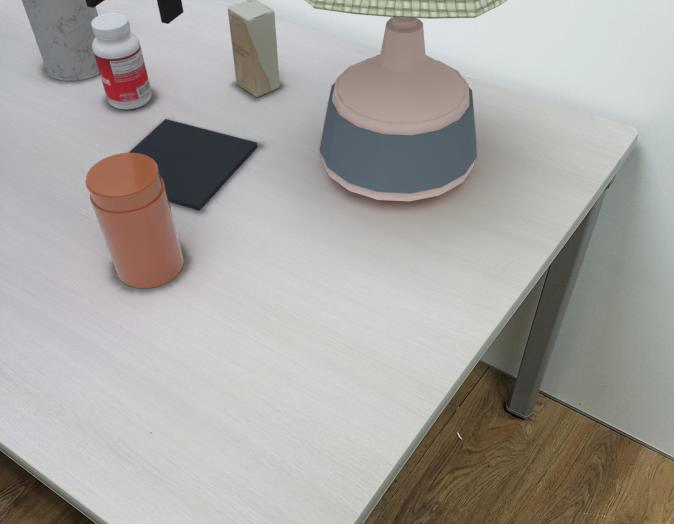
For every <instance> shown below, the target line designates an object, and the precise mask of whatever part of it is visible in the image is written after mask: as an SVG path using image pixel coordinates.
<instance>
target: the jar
mask: <svg viewBox="0 0 674 524" xmlns="http://www.w3.org/2000/svg"><path fill="white" fill-rule="evenodd" d="M84 182H85V186H86V187H85V188H86V189H87V190H88V192H89V193H90V194H89V200H90V203H91V205H92V209H93V211H94V214H95V217H96V220H97V222H98V225H99V227H100V231H101V233H102V237H103V239H104V241H105V244H106V247H107V250H108V253H109V255H110V258H111V261H112V264H113V267H114V269H115V272H116V275H117V277H118V279H119V280H120V281H121V282H122V283H123V284H125V285H127V286H128V287H131V288H135V289H152V288H157V287H160V286H163V285H165V284H167V283H169V282H171V281H172V280H174V279H175V278H176V277H177V276H178V275H179V274H180V272H181V271H182V269H183V267H184V261H185V260H184V254H183V251H182V247H181V243H180V238H179V235H178V231H177V227H176V224H175V220H174V215H173V212H172V208H171V204H170V201H169V200H168V196H167V192H166V188H165V184H164V181H163V179H162V178H161V177H160V173H159V169H158V166H157V163H156V162H155V161H154V160H153V159H152V158H150V157H148V156H146V155H143V154H139V153H129V152H122V153H117V154H112V155H110V156H107V157H105V158H102V159H100V160H99V161H97V162H96V163H94V164H93V165H92V166H91V167H90V168H89V170H88V172H87V173H86V177H85V181H84Z"/></svg>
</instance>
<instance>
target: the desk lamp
mask: <svg viewBox="0 0 674 524" xmlns="http://www.w3.org/2000/svg"><path fill="white" fill-rule="evenodd" d="M304 1H305V2H306V4H308V5H309V6H310V7H312V8H313V9H315V10H321V11H322V10H323V11H330V12H336V13H344V14H345V13H346V14H352V15H360V16H374V17H384V18H385V17H387V18H389V19H388V20H387V21H386V22H385V28H384V33H383V38H382V43H381V47H380V48H381V50H380V54H377V55H375V56H372V57H369V58H366V59H364V60H361V61H359V62H357V63H355V64H353V65H349V66H347V68H346V69H345V70H344V71H342V72H341V73H340V75H338V77H336V78H335V82H333V84H332V85H331V87H330V91H329V96H328V102H327V106H326V112H325V117H324V122H323V128H322V133H321V138H320V143H319V148H318V150H319V153H320V154H321V155H320V160H321V163H322V165H323V166H324V168H325V171H326V173H327V175H328V177H330V178H331V179H332V180H334V181H335V182H337V183H338V184H339V185H340V186H342V187H343V188H344V189H346V190H347V191H349V192H351V193H355V194H358V195H361V196H364V197H366V198H371V199H373V200H376V201H394V202H413V201H414V202H415V201H419V200H424V199H429V198H434V197H438V196H441V195H443V194H446V193H447V192H449V191H450V190H452V189H453V188H456V187H457V186H459V185H461V184H462V183H464V182H465V180H466V178H467V177H468V176H469V174H470V173H471V171H472V170H473V168H474V167H475V160H476V159H477V158H478V151H477V150H478V149H477V148H478V147H477V131H476V120H475V119H476V118H475V109H474V107H475V106H474V96H473V90H472V88H471V87H470V85H469V83H468V81H467V80H466V78H464V76H463V75H462V74H461V72H460V71H459V70H457V69H455V68H454V67H451V66H450V65H448V64H447V63H444V62H442V61H441V60H437V59H435V58H433V57H431V56H429V55H427V54H426V44H425V43H426V42H425V33H424V22H422V20H421V19H428V20H429V19H431V20H432V19H433V20H434V19H435V20H436V19H437V20H438V19H475V18H478V17H480V16H481V15H484V14H486V13H487V12H489V11H491V10H493V9H495V8H498V7H500V6H501V5H503V4H504V3H506V2H508V1H509V0H304Z"/></svg>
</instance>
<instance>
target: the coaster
mask: <svg viewBox="0 0 674 524" xmlns="http://www.w3.org/2000/svg"><path fill="white" fill-rule="evenodd" d="M257 148H258V141H257V142H256V141H254V140H253V141H252V140H249V139H245V138H241V137H238V136H234V135H229V134H227V133H222V132H218V131H214V130H210V129H206V128H203V127H198V126H195V125H191V124H187V123H183V122H179V121H175V120H172V119H166V118H165V119H164V120H162V122H161V123H159V124H158V125H157V126H156V127H155V128H154V129H153V130H151V132H149V133H148V134H147V135H146V136H145V137H144V138H143V139H142V140H141V141H140V142H139V143H138V144H136V145H135V146H134V147H133V148H132V149H131V150H130V151H129V152H128V153H139V154H143V155H146V156H148V157H150V158H152V159H153V160H154V161H155V162H156V163H157V166H158V169H159V173H160V177H161V178H162V179H163V181H164V184H165V188H166V192H167V196H168V200H169V203H174V204H177V205H180V206H184V207H187V208H191V209H194V210H198V211H200V210H201V209H202V208H203V207H204V206H205V205H206V204H207V203H208V202H209V201H210V199H211V198H212V197H213V196H214V195H215V194H216V193H217V192H218V191H219V189H220V188H222V186H223V185H224V184H225V183H226V182H227V181H228V180H229V178H231V176H232V175H233V174H234V173H235V172H236V171H237V170H238V168H240V167H241V165H242V164H243V163H244V162H245V161H246V160H247V158H249V157H250V156H251V154H252V153H253V152H254V151H255V150H256V149H257Z"/></svg>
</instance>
